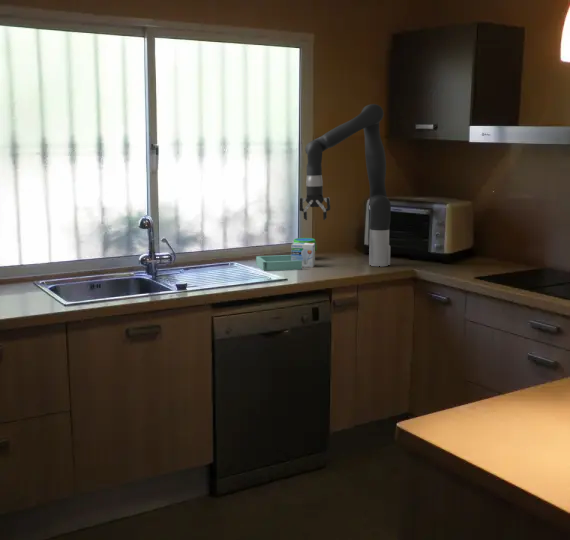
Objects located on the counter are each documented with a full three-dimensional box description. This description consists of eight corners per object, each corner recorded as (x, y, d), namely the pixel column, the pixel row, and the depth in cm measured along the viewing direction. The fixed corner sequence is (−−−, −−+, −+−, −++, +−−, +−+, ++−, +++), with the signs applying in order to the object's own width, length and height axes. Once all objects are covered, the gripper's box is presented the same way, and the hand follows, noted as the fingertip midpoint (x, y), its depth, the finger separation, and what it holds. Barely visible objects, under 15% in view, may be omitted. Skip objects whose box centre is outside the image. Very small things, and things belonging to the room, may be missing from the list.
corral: (292, 262, 367) (292, 254, 366) (301, 269, 350) (301, 260, 349) (255, 264, 363) (255, 256, 362) (263, 270, 346) (263, 262, 345)
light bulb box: (290, 266, 357) (290, 244, 355) (293, 264, 363) (293, 242, 361) (313, 267, 355) (313, 244, 353) (315, 265, 361) (315, 242, 360)
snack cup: (298, 262, 369) (298, 241, 367) (285, 259, 377) (285, 239, 375) (323, 259, 378) (323, 239, 376) (309, 256, 386) (310, 236, 384)
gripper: (330, 184, 353) (331, 218, 356) (300, 184, 355) (301, 219, 358) (329, 185, 346) (329, 220, 349) (298, 186, 348) (299, 221, 351)
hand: (315, 219), depth 353 cm, fingers open, 8 cm apart
